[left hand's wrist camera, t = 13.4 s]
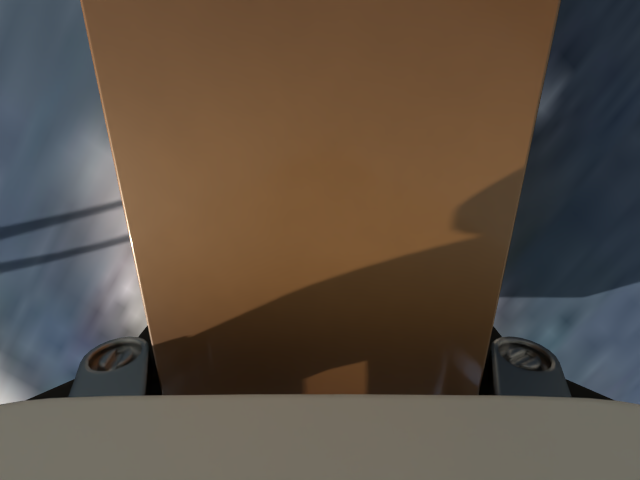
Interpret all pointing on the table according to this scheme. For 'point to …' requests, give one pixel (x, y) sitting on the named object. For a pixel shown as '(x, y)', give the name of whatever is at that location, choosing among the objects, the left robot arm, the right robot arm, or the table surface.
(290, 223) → the bar
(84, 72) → the table surface
